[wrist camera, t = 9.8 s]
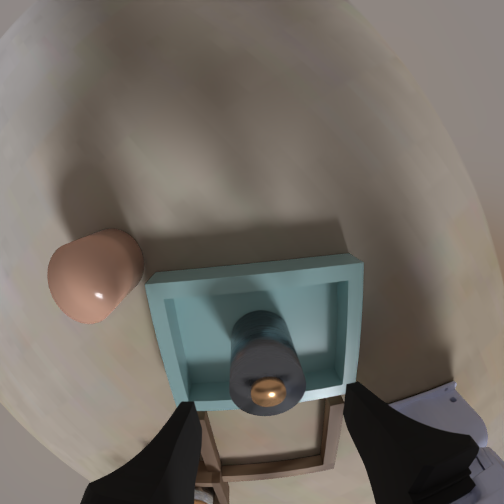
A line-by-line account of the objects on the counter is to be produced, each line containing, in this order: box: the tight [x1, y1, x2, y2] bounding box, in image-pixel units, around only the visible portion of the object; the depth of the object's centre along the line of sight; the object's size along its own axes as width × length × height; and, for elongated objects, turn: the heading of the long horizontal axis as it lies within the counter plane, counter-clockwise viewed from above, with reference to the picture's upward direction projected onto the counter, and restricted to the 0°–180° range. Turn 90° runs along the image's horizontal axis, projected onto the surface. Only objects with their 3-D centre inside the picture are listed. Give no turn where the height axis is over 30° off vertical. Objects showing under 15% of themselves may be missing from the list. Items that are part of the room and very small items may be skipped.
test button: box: [194, 487, 214, 504], centre depth 21 cm, size 4×4×3 cm
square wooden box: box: [195, 461, 229, 504], centre depth 22 cm, size 6×6×3 cm
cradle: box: [197, 395, 344, 482], centre depth 22 cm, size 12×10×2 cm
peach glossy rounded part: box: [48, 228, 144, 324], centre depth 16 cm, size 5×5×5 cm
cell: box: [229, 310, 306, 416], centre depth 17 cm, size 4×4×6 cm
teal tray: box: [145, 253, 364, 411], centre depth 19 cm, size 13×10×2 cm
